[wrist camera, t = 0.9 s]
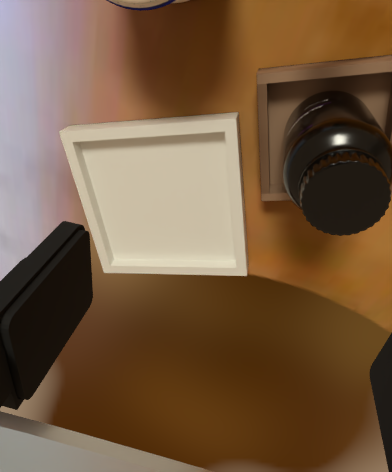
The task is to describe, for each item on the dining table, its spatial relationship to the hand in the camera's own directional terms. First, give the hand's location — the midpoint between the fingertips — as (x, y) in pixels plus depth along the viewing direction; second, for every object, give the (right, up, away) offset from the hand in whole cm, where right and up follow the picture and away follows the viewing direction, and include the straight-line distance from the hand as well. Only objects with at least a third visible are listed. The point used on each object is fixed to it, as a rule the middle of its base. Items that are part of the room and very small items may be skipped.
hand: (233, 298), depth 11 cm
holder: (+10, +11, +20) cm, 24 cm away
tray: (-4, +6, +26) cm, 27 cm away
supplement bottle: (+10, +10, +20) cm, 24 cm away
